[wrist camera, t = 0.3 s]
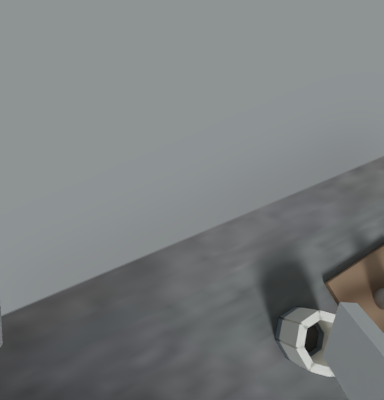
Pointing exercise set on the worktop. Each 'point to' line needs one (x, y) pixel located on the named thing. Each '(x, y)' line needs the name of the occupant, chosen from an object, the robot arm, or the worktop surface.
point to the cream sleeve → (296, 334)
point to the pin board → (362, 285)
